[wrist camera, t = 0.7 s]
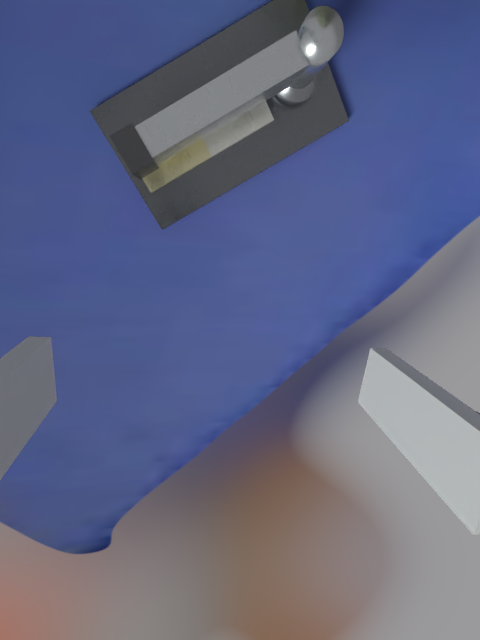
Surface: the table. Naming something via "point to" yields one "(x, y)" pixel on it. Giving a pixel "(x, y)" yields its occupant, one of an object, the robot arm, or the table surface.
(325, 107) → the plate
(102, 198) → the table surface
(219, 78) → the grey long bar
